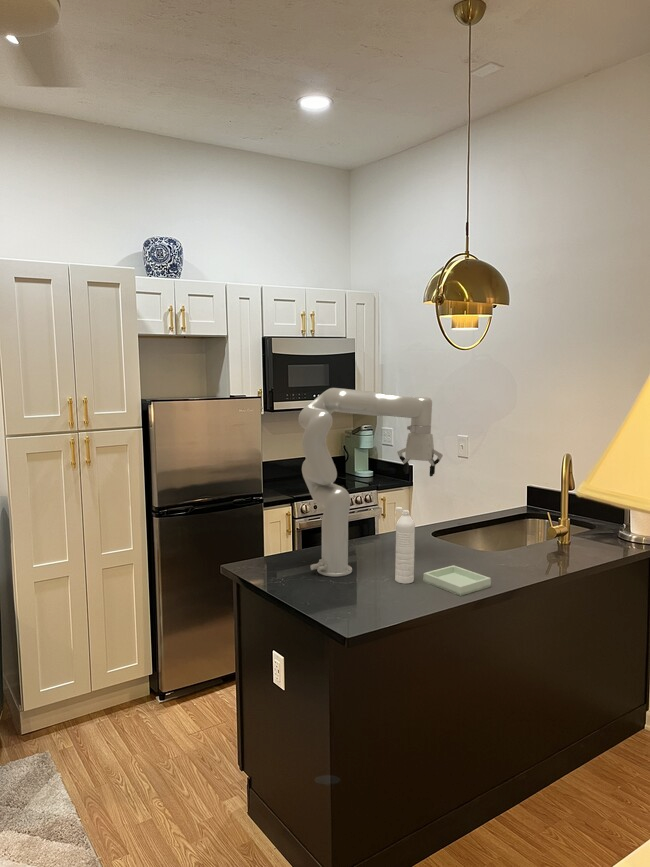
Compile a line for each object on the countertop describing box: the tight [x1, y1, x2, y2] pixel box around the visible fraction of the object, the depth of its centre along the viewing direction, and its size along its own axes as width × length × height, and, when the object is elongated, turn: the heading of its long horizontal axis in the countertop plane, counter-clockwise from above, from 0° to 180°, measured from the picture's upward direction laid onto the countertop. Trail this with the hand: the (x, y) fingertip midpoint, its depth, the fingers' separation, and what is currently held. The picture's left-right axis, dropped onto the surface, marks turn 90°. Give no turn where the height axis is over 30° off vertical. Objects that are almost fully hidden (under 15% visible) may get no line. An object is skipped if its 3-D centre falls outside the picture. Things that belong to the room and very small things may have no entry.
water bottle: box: [394, 506, 416, 584], centre depth 225 cm, size 9×6×25 cm
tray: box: [422, 564, 492, 597], centre depth 222 cm, size 15×17×3 cm
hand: (418, 474), depth 247 cm, fingers open, 9 cm apart
